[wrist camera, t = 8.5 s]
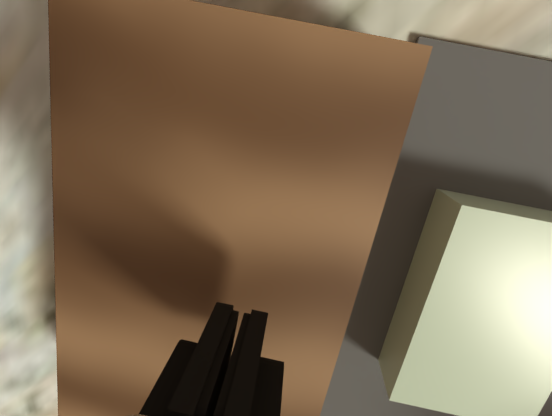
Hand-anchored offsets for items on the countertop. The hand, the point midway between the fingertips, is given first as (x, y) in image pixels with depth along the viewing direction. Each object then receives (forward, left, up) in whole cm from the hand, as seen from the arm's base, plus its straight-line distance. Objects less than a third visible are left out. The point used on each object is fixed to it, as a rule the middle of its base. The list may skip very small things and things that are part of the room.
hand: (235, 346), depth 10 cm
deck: (+1, +2, -6) cm, 6 cm away
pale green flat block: (+1, -10, -4) cm, 11 cm away
